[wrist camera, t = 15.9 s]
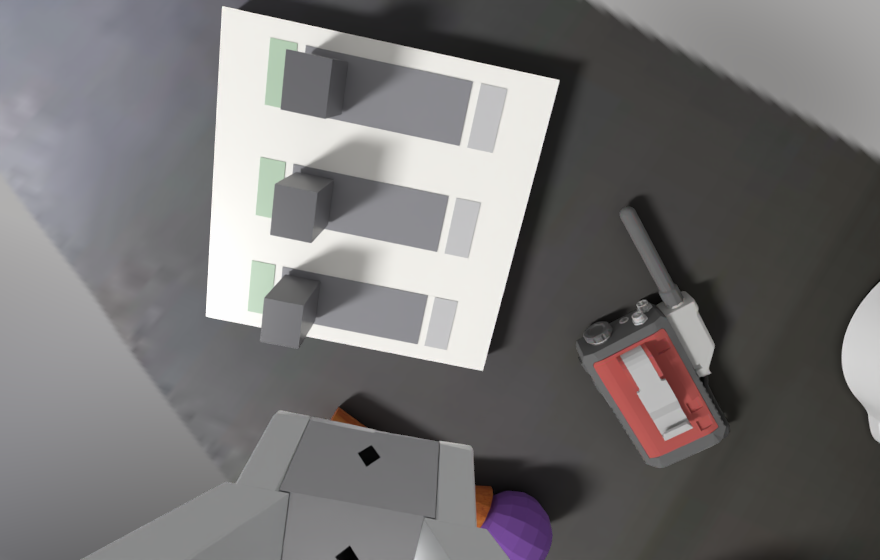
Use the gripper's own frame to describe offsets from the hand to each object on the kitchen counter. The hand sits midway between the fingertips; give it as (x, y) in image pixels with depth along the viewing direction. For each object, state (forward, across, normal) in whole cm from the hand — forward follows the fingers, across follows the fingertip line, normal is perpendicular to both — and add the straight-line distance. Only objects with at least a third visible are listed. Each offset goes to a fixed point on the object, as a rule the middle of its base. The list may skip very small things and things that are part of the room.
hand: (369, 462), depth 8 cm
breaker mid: (+27, +7, +3) cm, 28 cm away
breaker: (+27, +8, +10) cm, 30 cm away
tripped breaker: (+27, +8, -4) cm, 28 cm away
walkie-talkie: (+30, -17, +9) cm, 35 cm away
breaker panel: (+29, +4, +3) cm, 30 cm away
